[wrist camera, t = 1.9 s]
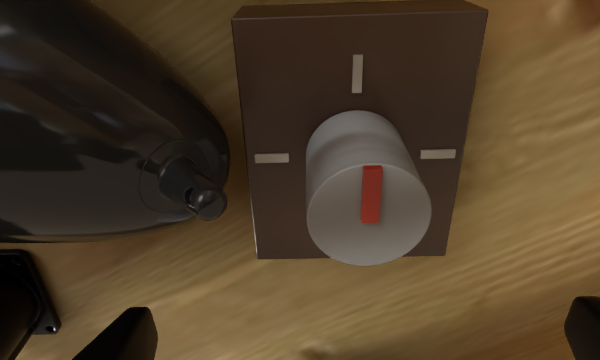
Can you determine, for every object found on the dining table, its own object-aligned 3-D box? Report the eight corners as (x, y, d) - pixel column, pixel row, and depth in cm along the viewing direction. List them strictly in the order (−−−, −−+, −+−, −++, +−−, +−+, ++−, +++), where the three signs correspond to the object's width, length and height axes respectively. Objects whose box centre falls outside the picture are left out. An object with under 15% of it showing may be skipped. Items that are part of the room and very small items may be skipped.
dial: (398, 195, 18) (426, 272, 14) (306, 197, 18) (307, 274, 14) (407, 108, 16) (443, 166, 12) (304, 111, 16) (304, 170, 12)
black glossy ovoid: (-505, -354, 7) (317, 59, 12) (-114, -95, 16) (247, 70, 22) (-634, 233, 8) (192, 369, 13) (-189, 149, 17) (177, 248, 23)
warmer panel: (429, 219, 23) (446, 258, 20) (262, 223, 23) (256, 262, 20) (461, -2, 17) (491, 10, 14) (241, 5, 17) (229, 18, 15)
